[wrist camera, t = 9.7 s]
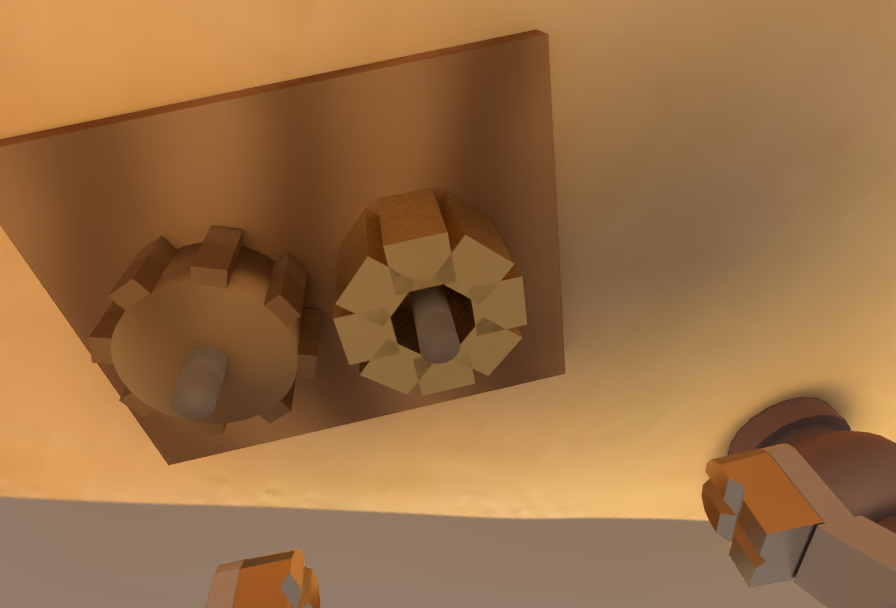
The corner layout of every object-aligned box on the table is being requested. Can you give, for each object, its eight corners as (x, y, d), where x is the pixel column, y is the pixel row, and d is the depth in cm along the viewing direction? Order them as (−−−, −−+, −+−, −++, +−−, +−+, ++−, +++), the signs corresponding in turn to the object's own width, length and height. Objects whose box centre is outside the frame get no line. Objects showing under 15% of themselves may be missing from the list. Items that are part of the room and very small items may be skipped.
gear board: (536, 29, 17) (615, 61, 12) (556, 356, 25) (609, 460, 20) (-25, 144, 17) (-190, 229, 12) (175, 444, 25) (129, 574, 19)
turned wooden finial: (743, 386, 28) (955, 618, 18) (872, 376, 30) (1136, 589, 20) (696, 491, 33) (845, 722, 23) (809, 479, 34) (997, 693, 24)
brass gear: (489, 174, 19) (516, 216, 16) (507, 314, 22) (531, 370, 19) (318, 211, 18) (312, 261, 15) (362, 346, 22) (364, 408, 19)
